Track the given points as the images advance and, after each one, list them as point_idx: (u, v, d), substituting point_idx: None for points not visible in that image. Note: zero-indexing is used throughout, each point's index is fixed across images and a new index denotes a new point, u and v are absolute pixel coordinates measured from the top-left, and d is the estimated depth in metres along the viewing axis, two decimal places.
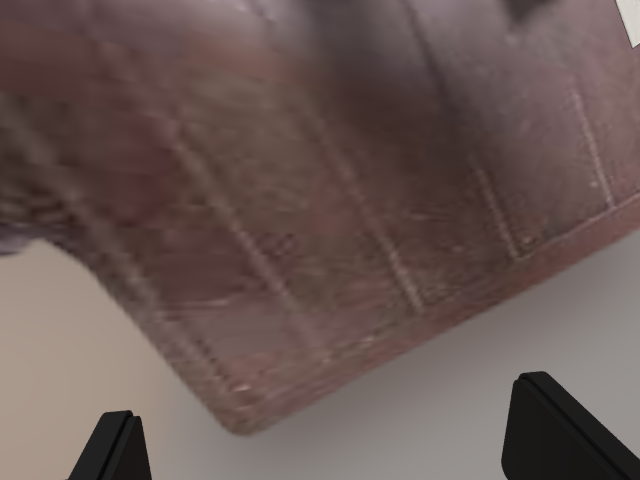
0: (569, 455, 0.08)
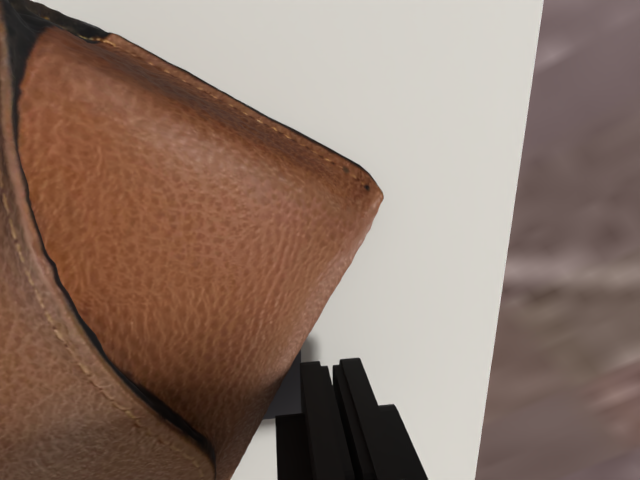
0: (347, 432, 0.09)
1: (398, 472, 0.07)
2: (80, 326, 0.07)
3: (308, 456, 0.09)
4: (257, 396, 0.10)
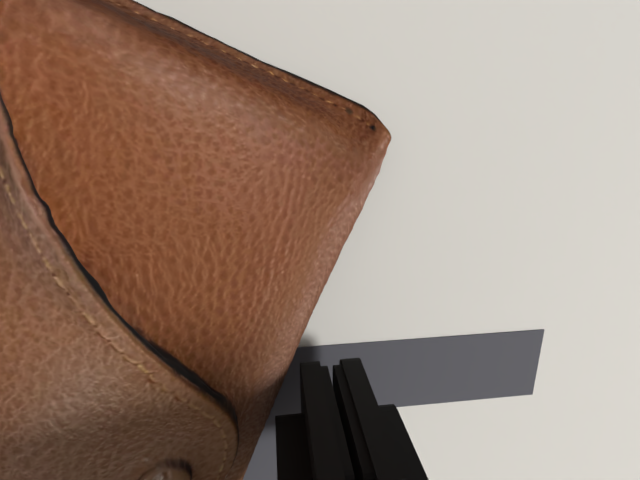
0: (347, 433, 0.09)
1: (398, 472, 0.07)
2: (80, 272, 0.06)
3: (308, 456, 0.09)
4: (275, 353, 0.09)
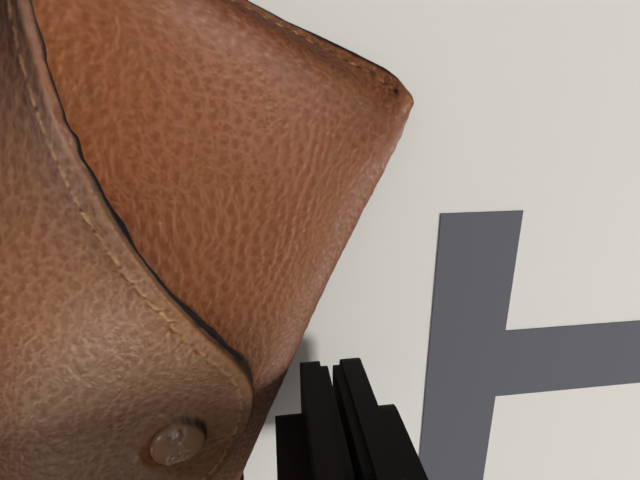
0: (347, 432, 0.09)
1: (398, 472, 0.07)
2: (107, 209, 0.06)
3: (308, 456, 0.09)
4: (292, 315, 0.09)
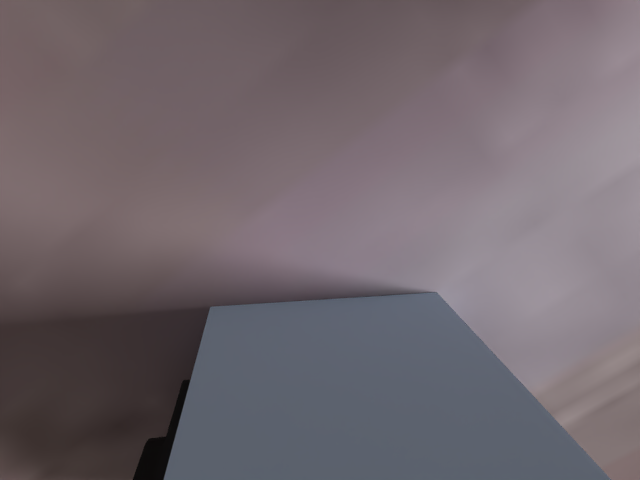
0: None
1: None
2: None
3: None
4: None
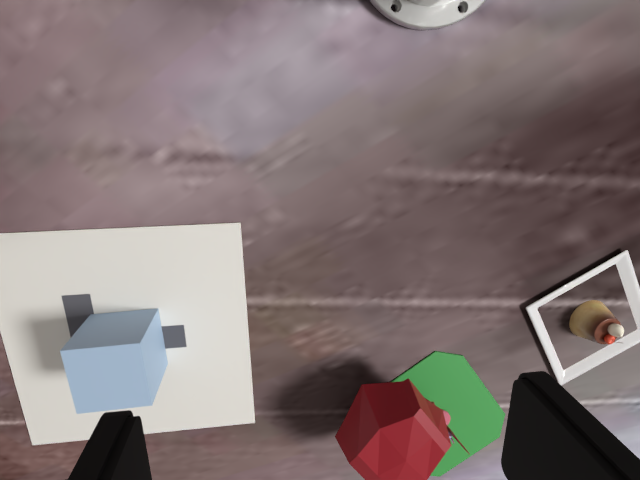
0: (569, 455, 0.08)
1: None
2: None
3: None
4: None
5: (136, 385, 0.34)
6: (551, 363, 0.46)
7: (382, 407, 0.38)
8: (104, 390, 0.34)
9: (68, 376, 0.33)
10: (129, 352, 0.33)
